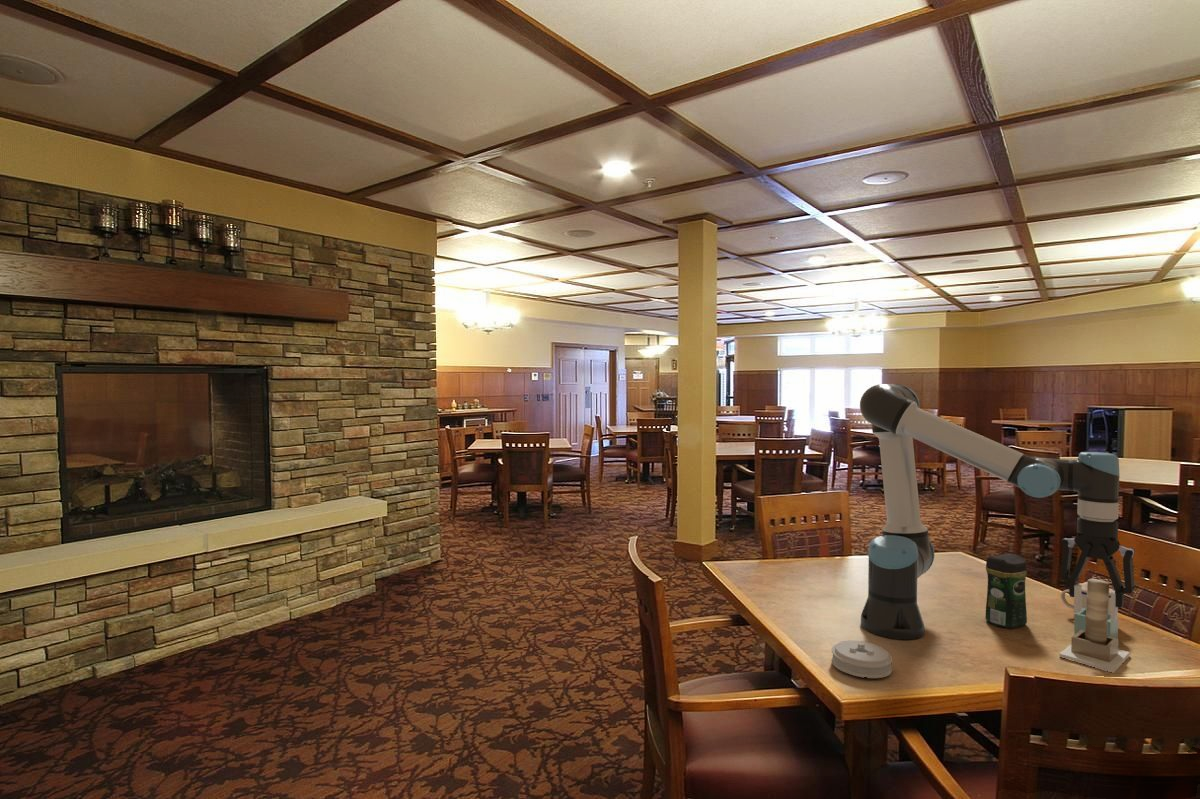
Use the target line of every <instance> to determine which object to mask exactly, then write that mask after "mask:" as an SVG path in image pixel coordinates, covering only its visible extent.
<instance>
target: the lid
mask: <svg viewBox="0 0 1200 799" xmlns="http://www.w3.org/2000/svg"><path fill="white" fill-rule="evenodd" d="M831 654H832V657H831V664H832V665H833V666H834V667H835V668H836V669H838V670H839V671H841V672H843V673H846V674H849V675H852V676H855V677H860V678H864V677H867V679H880V678H881V679H882V678H885V677H888V676H890V675H891V674H892V672H893V667H892V665H891V664H892V662H893V657H892V655H891V654H890V653H889V652H888V651H887V650H886V649H884V648H883V647H881V646H880V645H877V644H874V643H871V642H868V641H863V640H853V639H852V640H851V639H850V640H849V639H848V640H842V641H839V642H838V643H836V644H834V645H832V647H831Z"/></svg>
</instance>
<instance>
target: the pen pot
mask: <svg viewBox="0 0 1200 799" xmlns="http://www.w3.org/2000/svg"><path fill="white" fill-rule="evenodd" d="M1110 615H1111V614H1109V613H1108V622H1107V637H1111V638H1115V639H1119V618H1118V619H1117V620H1116V621H1115V622H1113V621H1110ZM1085 623H1086V608H1082V609H1081V611H1080V612H1079V613H1075V619H1074V630H1073V631H1074V633H1073V636H1074V635H1075V634H1076V633H1077V632H1079V631H1080V630H1084V631H1085Z"/></svg>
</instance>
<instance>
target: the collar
mask: <svg viewBox="0 0 1200 799" xmlns="http://www.w3.org/2000/svg"><path fill="white" fill-rule="evenodd" d="M1070 645H1071V652H1074V653H1078V654H1081V655H1085V656H1088V657H1092V658H1096V659H1099V660H1103V661H1106V662H1111V661H1112V660H1113V659H1114V658H1115V657H1116V656H1117V655H1118V649H1119V638H1118V639H1115V638H1111V637H1107V641H1106V645H1104V644H1100V643H1096V642H1092V641H1089V640H1085V631H1084V630H1080V631H1079V632H1077V633H1076V634H1075V635H1074V634H1073V635H1072V636H1071V644H1070Z"/></svg>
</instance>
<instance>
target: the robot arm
mask: <svg viewBox="0 0 1200 799" xmlns="http://www.w3.org/2000/svg"><path fill="white" fill-rule="evenodd" d="M859 409H860V413H861V415H862V417H863V418H864V420H866V422H868V423H869V424H871V430H872V431H871V432H872V434H873V435H874V436H876V438H878V441H879V453H880V461H881V462H880V463H881V473H882V483H883V484H882V485H883V492H884V494H883V495H884V504H885V513H886V514H885V515H886V523H885V525H883V527H882V528H881V532H882V534H881V535H882V536H880V535H879V536H877V537H874V538H873V539H871V540H870V541H869V544H868V550H867V557H868V576H867V577H868V579H867V581H868V584H867V586H868V588H867V589H868V590H867V592H868V593H867V599H866V601H865V604H864V607H863V609H862V612H861V614H860V625H861V627H862V628H863V629H864V630H865V631H867V632H869V633H871V634H874V635H876V636H880V637H884V638H887V639H893V640H903V639H904V641H905V640H907V639H909V640H917V639H919V638H922V637H923V636H924V634H925V623H924V620H923V617H922V614H921V610H920V608H919V605H918V579H919V578H920V577H921V576H922V575H923V574H926V573H927V572H928V571H929V570H930V568H932V566H933V563H934V559H935V549H934V545H933V544H932V541H931V540H930V537H929V529H928V527H927V526H926V525H924V524H923V523H922V521H921V519H922V518H921V510H920V508H921V507H920V501H919V500H920V499H919V490H918V488H919V487H918V480H917V479H918V478H917V471H916V470H917V469H916V460H915V459H916V458H915V448H914V440H916V441H919V442H920V443H923V444H925V445H927V446H930V447H931V448H934V449H936V450H938V451H941V452H942V453H944V454H947V455H949V456H951V457H953V458H955V459H957V460H960V461H962V462H964V463H966V464H968V465H971V466H972V467H975V468H976V469H979V470H982V471H983V472H986V473H988V474H991V475H992V476H994V477H996V478H999V479H1000V480H1003V481H1005V482H1006V483H1009V484H1011V485H1013V486H1015V487H1017V488H1019V489H1020V490H1021V491H1022V492H1023V493H1024V494H1026V495H1028V496H1030V497H1032V498H1036V499H1037V498H1038V499H1039V498H1040V499H1041V498H1046V497H1050V496H1052V495H1054V494H1055V493H1056V492H1057V491H1058V490H1059V491H1070V492H1077V511H1076V512H1077V515H1078V517H1077V518H1076V519H1077V521H1076V522H1077V524H1076V536H1075V537H1073V538H1068V537H1064V538H1062V539H1061V541H1060V543H1061V547H1062V554H1061V556H1062V557H1061V564H1060V570H1059V571H1060V573H1059V578H1060V580H1062V581H1066V582H1068V584H1069V586H1068V589H1069V592H1068V595H1069V597H1070V598H1073V606H1074V609H1073V613H1074V612H1075V613H1079V612H1080V611H1081V593H1082V584H1080V583H1079V580H1080V577H1081V575H1082V573H1083V571H1084V569H1085V567H1086V565H1087V562H1088V560H1089V558H1092V559H1093V558H1096V559H1098V560H1102V561H1103V564H1104V565H1105V568H1106V571H1107V573H1108V576H1109V578H1110V581H1111V584H1112V586H1113V587H1112V588H1113V589H1114V591H1113V592H1112V593H1111V615H1110V621H1113V622H1115V621H1116V620H1117V619H1118V620H1119V614H1118V613H1119V608H1120V609H1121V608H1123V607H1124V605H1125V604H1124V603H1125V602H1124V601H1125V594H1132V593H1133V592H1135V574H1134V563H1133V558H1134V555H1135V553H1136V549H1134V548H1129V547H1125V546H1122V545H1121V543H1120V542H1119V522H1118V521H1117V520H1118V519H1119V508H1120V506H1119V495H1120V493H1119V492H1120V460H1119V457H1118V455H1115V454H1114V453H1109V452H1099V451H1098V452H1097V451H1081V452H1080V453H1079V454H1078V457H1077V459H1066V458H1065V459H1062V458H1050V457H1049V458H1048V457H1039V456H1029V455H1026V454H1024V453H1022V452H1020V451H1018V450H1015V449H1013V448H1011V447H1009V446H1006V445H1004V444H1002V443H1000V442H997V441H995V440H992V439H991V438H988V437H986V436H984V435H981V434H979V433H977V432H974V431H972V430H969V429H967V428H965V427H963V426H962V425H961V426H960V425H958V424H956V423H954V422H952V421H950V420H947V419H945V418H943V417H940V416H938V415H935V414H934V413H931V412H929V411H926V410H924V409H921V408H920V400H919V397H918V396H917V394H916V393H915V391H914V390H912V389H911V388H909V387H908V386H906V385H904V384H903V385H902V384H899V383H881V384H875V385H873V386H871V387H869V388H867V389H866V391H865V392H864V393H863V394H862V396H861V398H860V402H859ZM1075 544H1076V545H1077V547H1078V548H1079V550H1080V551H1081V552H1080V555H1079V556H1078V560H1077V562H1076V564H1075V566H1074V568H1073V571H1072V573H1071V575H1070V572H1071V571H1070V570H1071V562H1072V554H1073V548H1074V546H1075ZM1118 551H1119V552H1120V556H1121V557H1123V558H1122V566H1123V567H1122V568H1123V577H1124V579H1123V580H1124V584H1123V581H1122V580H1121V579H1122V578H1121V576H1120V573H1119V570H1118V568H1117V565H1116V562H1115V558H1114V554H1116V552H1118Z"/></svg>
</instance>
